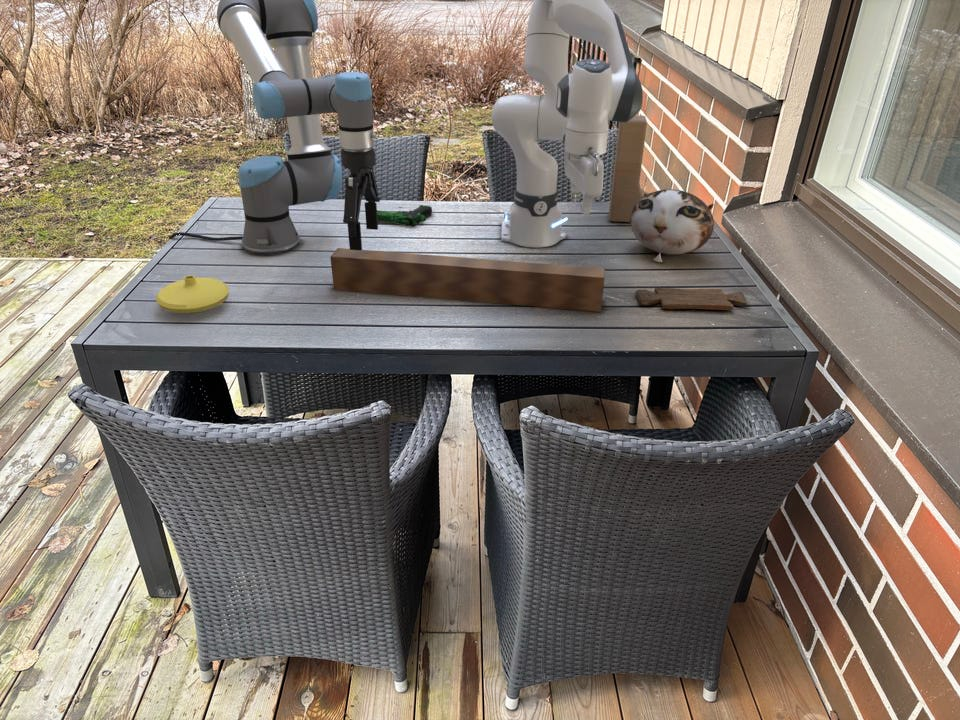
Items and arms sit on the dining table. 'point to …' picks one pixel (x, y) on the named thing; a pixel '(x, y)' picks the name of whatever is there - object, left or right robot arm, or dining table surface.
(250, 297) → the dining table surface
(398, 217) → the handgun
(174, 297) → the yellow round disc
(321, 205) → the dining table surface
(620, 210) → the decorative block
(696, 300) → the dark wooden board
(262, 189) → the left robot arm
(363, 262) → the post
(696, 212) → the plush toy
